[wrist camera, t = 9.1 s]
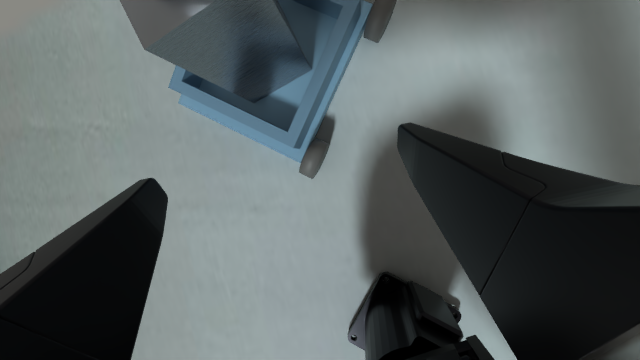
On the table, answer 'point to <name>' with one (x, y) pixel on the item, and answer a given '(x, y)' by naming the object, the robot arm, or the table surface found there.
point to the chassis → (304, 92)
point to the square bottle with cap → (222, 41)
